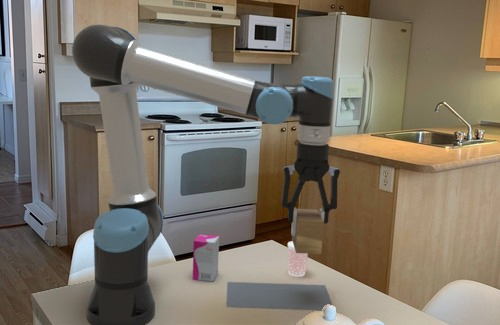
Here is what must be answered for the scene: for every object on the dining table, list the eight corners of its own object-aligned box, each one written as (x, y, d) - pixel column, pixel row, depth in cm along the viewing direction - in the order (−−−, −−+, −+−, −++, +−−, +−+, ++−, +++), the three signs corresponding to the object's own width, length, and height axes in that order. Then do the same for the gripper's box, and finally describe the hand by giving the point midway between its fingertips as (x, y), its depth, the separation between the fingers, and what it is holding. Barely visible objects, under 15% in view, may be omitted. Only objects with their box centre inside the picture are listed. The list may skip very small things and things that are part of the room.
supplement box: (218, 275, 143) (219, 235, 140) (213, 284, 137) (214, 242, 135) (198, 272, 144) (199, 233, 141) (191, 281, 138) (193, 240, 136)
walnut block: (291, 238, 133) (293, 208, 132) (315, 239, 134) (317, 209, 132) (296, 253, 124) (298, 220, 122) (321, 253, 124) (323, 221, 122)
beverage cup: (290, 268, 149) (293, 222, 147) (310, 273, 147) (314, 226, 144) (282, 276, 144) (285, 228, 141) (303, 281, 141) (306, 232, 139)
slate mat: (226, 309, 124) (226, 307, 124) (227, 283, 138) (227, 281, 138) (334, 312, 125) (334, 310, 125) (324, 287, 139) (325, 285, 138)
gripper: (274, 143, 119) (269, 239, 124) (356, 146, 120) (348, 241, 125) (272, 138, 127) (267, 228, 131) (349, 141, 127) (341, 231, 132)
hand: (306, 234), depth 128 cm, fingers closed on walnut block, 6 cm apart
